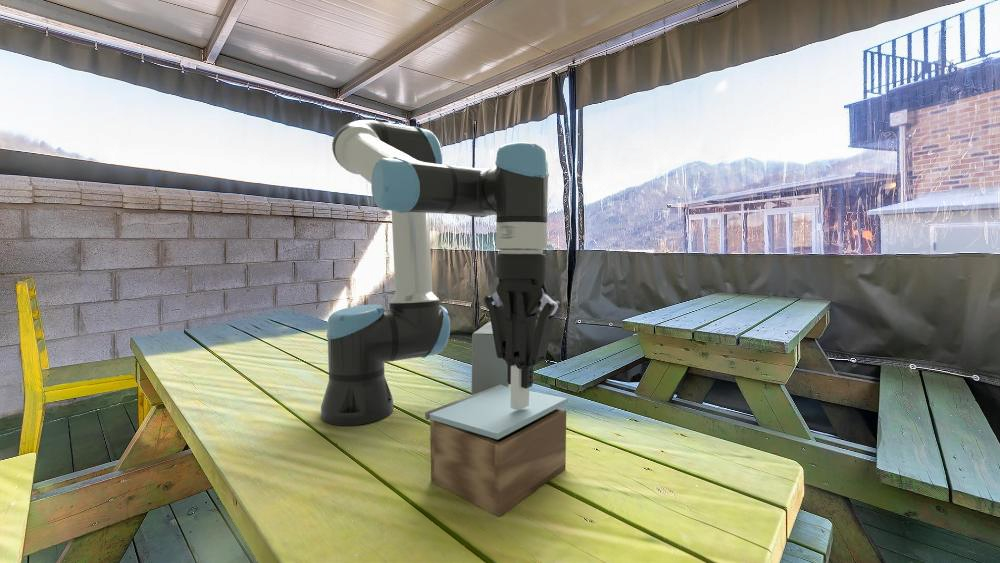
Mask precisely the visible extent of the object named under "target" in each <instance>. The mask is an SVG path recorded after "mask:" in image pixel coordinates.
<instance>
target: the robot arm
mask: <svg viewBox="0 0 1000 563" xmlns="http://www.w3.org/2000/svg"><path fill="white" fill-rule="evenodd" d="M331 150H332V154H333V156H334V159H335V161H336V162H337V163H338V164H339V165H340V167H341V168H343V169H344V170H345V171H348V172H349V173H351V174H353V175H359V176H361V177H362V178H363V179H364V180H366V181H367V182H369V183H370V184H371V194H372V198H373V202H374V204H375V205H376V206H377V208H378V209H380V210H383V211H390V212H391V223H392V224H391V226H392V227H391V228H392V229H391V230H392V246H393V248H392V251H393V252H392V253H393V270H394V289H395V290H394V292H395V294H394V296H393V297H392V298H391V299H390V300H389V308H388V309H387V310H385V308H384V307H383V305H382V304H378V303H374V304H373V303H371V304H367V305H366V304H361V305H360V304H359V305H355V306H350V307H346V308H342V309H339V310H337V311H335V312H333V313H332V314H331V315H329V317H328V320H327V330H326V331H327V332H326V339H327V358H328V360H327V361H328V362H327V363H328V383H327V385H326V390H325V393H324V396H323V398H322V399H323V400H322V403H321V406H320V416H321V420H322V421H324V422H325V423H327V424H330V425H335V426H357V425H358V426H359V425H365V424H370V423H375V422H377V421H380V420H382V419H384V418H386V417H388V416H390V415H391V413H393V411H394V399H393V395H392V392H391V390H390V388H389V385H388V382H387V379H386V377H385V374H386V373H385V364H386V363H389V362H396V361H403V360H408V359H409V360H410V359H416V358H423V359H424V358H427V357H429V356H435V355H438V354H440V353H442V352H443V350H444V349H445V347H446V346H447V344H448V342H449V339H450V333H451V319H450V316H449V312H448V310H447V309H446V307H444V306H442V305H440V298H439V297H437V295H436V294H435V293H434V292H433V279H432V278H433V277H432V276H433V275H432V273H433V272H432V255H431V254H432V252H431V235H430V233H431V232H430V229H431V228H430V214H445V215H463V216H464V215H466V216H467V217H473V218H477V217H479V218H486V217H489V216H496V218H495V219H496V220H495V221H496V236H495V237H496V241H495V242H496V245H495V246H496V247H495V248H496V249H497V250H498V251H499V250H500V251H499V252H500V253H498V254H497V255H496V256H495V277H496V278H497V279H498V283H497V285H496V288H495V289H496V291H495V292H494V293H492V294H491V295H488V296H487V295H486V296H484V299H483V300H484V301H483V302H484V303H485V305H486V307H487V310H488V313H489V318H490V321H491V325H492V331H493V337H494V342H495V348H496V354H497V357H498V358H502V359H504V360H505V361H506V363H507V365H508V371H507V374H508V375H507V381H508V384H510V385H511V408H512V409H515V410H520V409H522V408H524V407H527V406H529V391H530V388H531V387H532V386H533V384H534V367H535V366H536V365H540V364H541V363H545V361H546V358H547V353H548V348H549V344H550V339H551V335H552V330H553V327H554V322H555V317H556V316H557V314H558V313H559V311H560V310H561V308H562V304H561V302H560V301H559V300H556V301H554V300H553V299H552V298H551V297H550V296H549V295H548V290H547V287H546V284H545V280H546V278H547V270H548V269H547V265H548V264H547V262H548V261H547V260H548V256H546V254H545V253H543V252H544V251H546V250H547V249H548V199H549V198H548V196H549V195H548V192H549V177H550V173H549V166H548V160H549V159H548V153H547V150H546V148H545V147H543V146H541V145H539V144H537V143H531V142H530V143H529V142H512V143H506V144H503V145H501V146H499V147H498V150H497V153H496V159H495V164H494V165H495V166H492V167H487V168H477V167H476V168H475V167H470V166H458V165H450V164H443V151H442V147H441V143H440V141H439V139H438V137H437V135H435V133H434V132H432V131H431V130H429V129H426V128H425V129H424V128H421V127H419V126H414V125H413V126H410V125H404V124H397V123H396V124H395V123H392V122H391V123H390V122H383V121H377V120H375V119H374V120H373V119H361V120H354V121H351V122H348V123H346V124H345V125H342V126H341V127H340V128H339V129H338V130H337V131H336V133H335V134H334V137H333V140H332V144H331ZM539 310H540V313H539V312H538V311H539ZM538 313H539V315H538ZM536 321H537V323H536Z"/></svg>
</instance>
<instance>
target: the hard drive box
mask: <svg viewBox="0 0 1000 563" xmlns="http://www.w3.org/2000/svg"><path fill="white" fill-rule="evenodd" d="M471 338H472V340H471V395H473V394H476V393H479V392H481V391H484V390H487V389H489V388H492V387H495V386H497V385H500V384H501V385H503V386H507V387H511V385H510V384H508V381H507V375H508V374H507V371H508V365H507V363H506V361H505V360H504V359H502V358H498V357H497V354H496V348H495V342H494V337H493V331H492V325H491V320H490V321H489V322H487V323H485V325H482V326H481V327H479V329H477V330H476V331H474V332H473V333H472V334H471ZM471 395H470V396H471Z"/></svg>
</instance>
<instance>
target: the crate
mask: <svg viewBox="0 0 1000 563" xmlns="http://www.w3.org/2000/svg"><path fill="white" fill-rule="evenodd" d="M429 420H430V422H429V423H430V424H429V425H430V426H429V428H430V429H429V430H430V432H429V433H430V438H429V440H430V482H431V483H433V484H435V485H437V486H438V487H440V488H442V489H445V490H447V491H448V492H450V493H452V494H454V495H456V496H458V497H460V498H461V499H464V500H465V501H467V502H469V503H470V504H473V505H475V506H477V507H480V509H482V510H485V511H487V512H488V513H490V514H493V515H495V516H496V517H498V518H501V517H502V516H504V515H505V514H506V513H508V512H509V511H510V510H512V509H513V508H514V507H516V506H517V505H518V504H520V503H521V502H522V501H524V500H525V499H526V498H528V497H529V496H531V495H532V494H533V493H535V492H536V491H538V490H539V489H540V488H542V487H543V486H544V485H545V484H547V483H548V482H550V481H551V480H552V479H554V478H555V477H556V476H557V475H559V474H560V473H562V472H563V471H564V470H566V467H567V466H566V460H567V459H566V458H567V457H566V454H567V452H566V450H567V409H564V408H562V407H559V408H557V409H555V410H553V411H552V412H550V413H548V414H546V415H544V416H542V417H540V418H538V419H536V420H534V421H532V422H530V423H529V424H527V425H525V426H523V427H521V428H519V429H517V430H515V431H513V432H511V433H509V434H507V435H506V436H504V437H502V438H500V439H498V440H497V439H494V438H491V437H487V436H484V435H481V434H477V433H474V432H471V431H467V430H464V429H461V428H457V427H454V426H451V425H447V424H444V423H441V422H437V421H434V420H431V419H429Z"/></svg>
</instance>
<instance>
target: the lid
mask: <svg viewBox="0 0 1000 563" xmlns="http://www.w3.org/2000/svg"><path fill="white" fill-rule="evenodd" d="M568 402H569V401H568V397H562V396H557V395H552V394H547V393H541V392H537V391H531V390H529V406H527V407H524V408H522V409H520V410H515V409H512V408H511V387H507V386H503V385H501V384H500V385H497V386H495V387H492V388H489V389H487V390H484V391H481V392H479V393H476V394H473V395H468V396H466V397H462V398H459V399H458V400H455V401H453V402H449V403H446V404H444V405H441V406H439V407H437V408H433V409H431V410H428V411H425V412H424V418H425V419H426V420H430V419H431V420H434V421H437V422H441V423H444V424H447V425H451V426H454V427H457V428H461V429H464V430H467V431H471V432H474V433H477V434H481V435H484V436H487V437H491V438H494V439H497V440H498V439H500V438H502V437H504V436H506V435H507V434H509V433H511V432H513V431H515V430H517V429H519V428H521V427H523V426H525V425H527V424H529V423H530V422H532V421H534V420H536V419H538V418H540V417H542V416H544V415H546V414H548V413H550V412H552V411H553V410H555V409H557V408H562V407H563V406H564V405H567V404H568Z"/></svg>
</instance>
